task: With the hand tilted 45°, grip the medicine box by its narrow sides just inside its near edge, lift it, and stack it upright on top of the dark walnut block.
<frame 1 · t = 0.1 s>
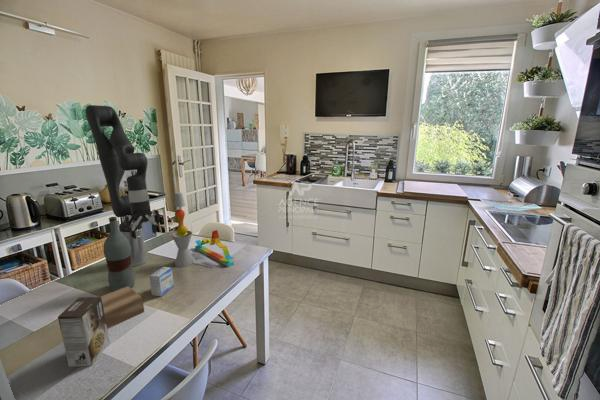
hand: (144, 235, 127), 17 cm above the table, tool pointing down, fingers open, 8 cm apart
bottle: (123, 287, 118), on the table
coffee box: (90, 354, 83), on the table
walnut block: (119, 313, 102), on the table
medicine box: (163, 291, 116), on the table
rainbow clothes hanger: (213, 257, 147), on the table
lava lamp: (184, 262, 140), on the table
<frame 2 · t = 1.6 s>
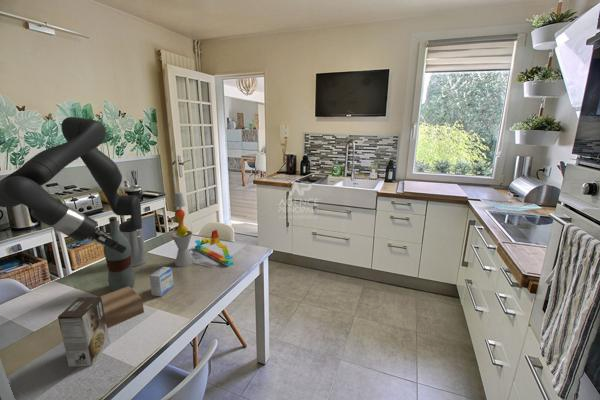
hand: (118, 247, 99), 23 cm above the table, tool tilted 45°, fingers open, 8 cm apart
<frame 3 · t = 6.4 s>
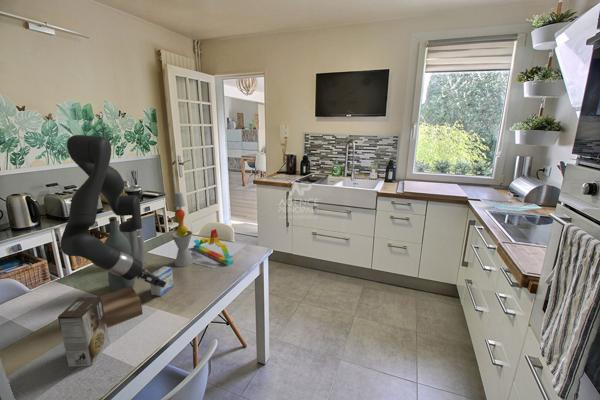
hand: (160, 282, 114), 4 cm above the table, tool tilted 45°, fingers closed on medicine box, 6 cm apart
medicine box: (163, 290, 116), on the table, touching gripper
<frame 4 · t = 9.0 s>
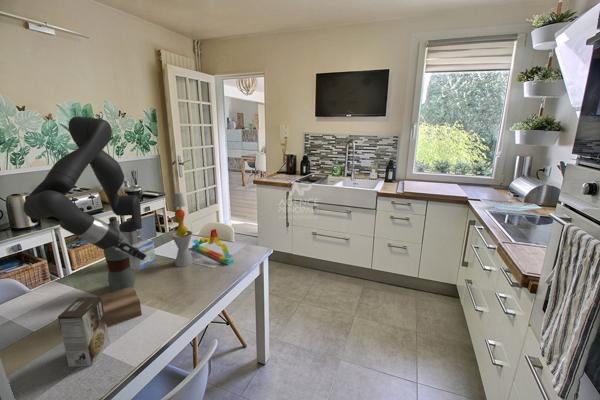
hand: (140, 255, 105), 19 cm above the table, tool tilted 45°, fingers closed on medicine box, 5 cm apart
medicine box: (143, 265, 107), point 14 cm above the table, touching gripper
when the fingers open (11 cm above the table, at t = 11.8 s): medicine box drops 1 cm, resting on walnut block.
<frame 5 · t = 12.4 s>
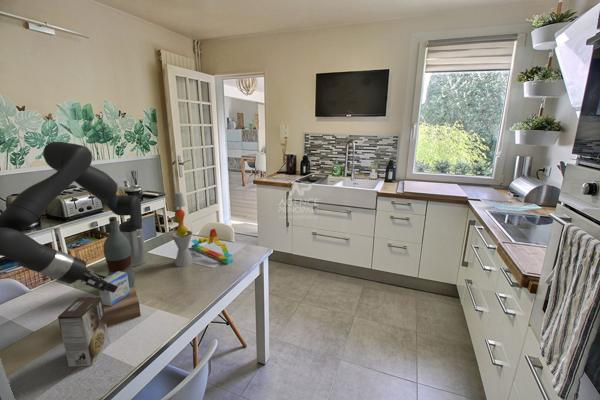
hand: (110, 285, 98), 12 cm above the table, tool tilted 45°, fingers open, 8 cm apart
walnut block: (119, 314, 102), on the table, touching medicine box
medicine box: (116, 299, 100), point 5 cm above the table, touching walnut block
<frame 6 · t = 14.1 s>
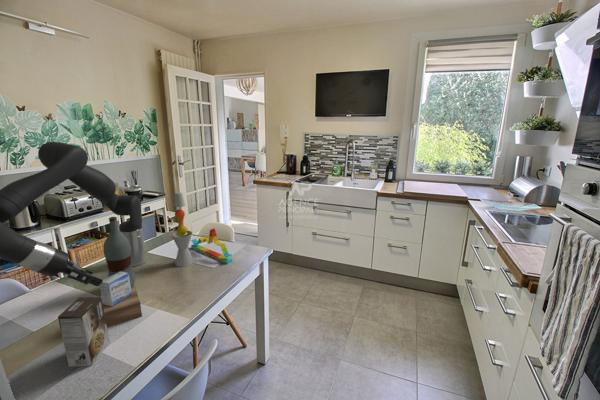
hand: (95, 279, 94), 16 cm above the table, tool tilted 45°, fingers open, 8 cm apart
walnut block: (120, 314, 101), on the table
medicine box: (117, 299, 100), point 5 cm above the table
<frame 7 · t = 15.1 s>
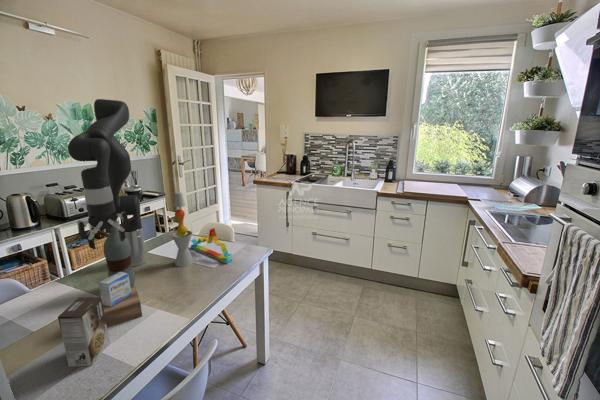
hand: (108, 244, 99), 25 cm above the table, tool pointing down, fingers open, 8 cm apart
walnut block: (120, 314, 101), on the table, touching medicine box
medicine box: (117, 300, 100), point 5 cm above the table, touching walnut block
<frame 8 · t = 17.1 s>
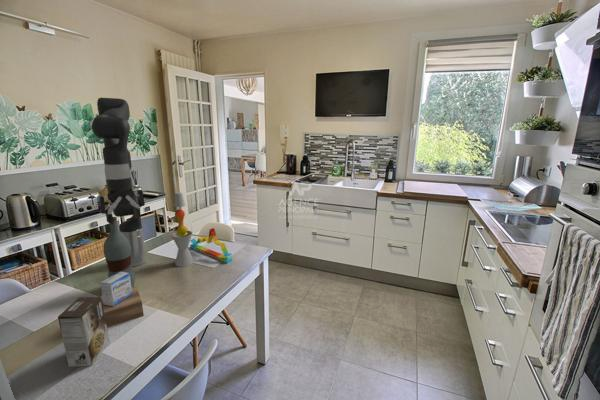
hand: (124, 220, 103), 31 cm above the table, tool pointing down, fingers open, 8 cm apart
walnut block: (122, 314, 102), on the table
medicine box: (118, 300, 100), point 5 cm above the table
at the end: medicine box inside the target area on the walnut block (0.4 cm from its centre), point 5.8 cm above the walnut block's base; medicine box tilted 0°; the gripper is holding nothing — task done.
